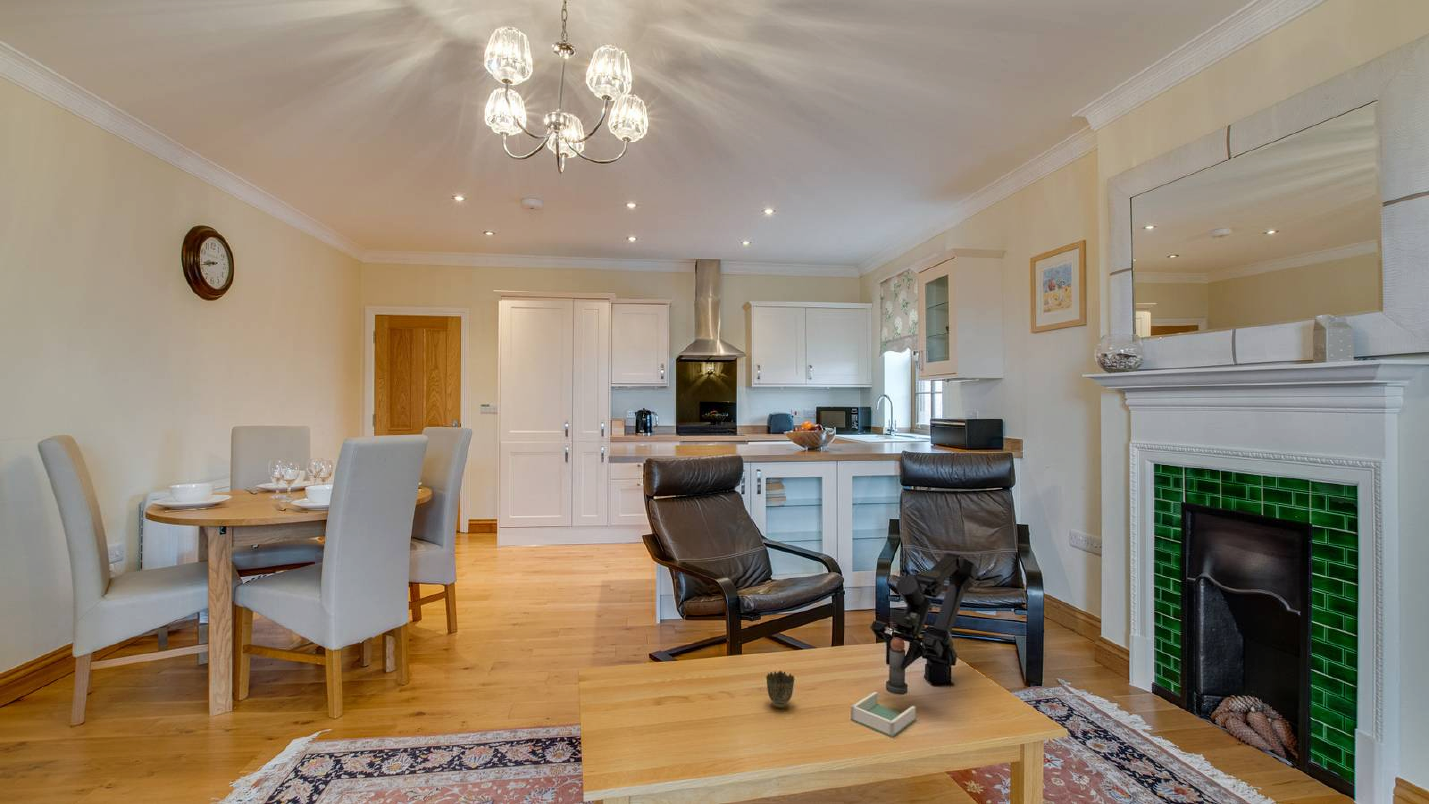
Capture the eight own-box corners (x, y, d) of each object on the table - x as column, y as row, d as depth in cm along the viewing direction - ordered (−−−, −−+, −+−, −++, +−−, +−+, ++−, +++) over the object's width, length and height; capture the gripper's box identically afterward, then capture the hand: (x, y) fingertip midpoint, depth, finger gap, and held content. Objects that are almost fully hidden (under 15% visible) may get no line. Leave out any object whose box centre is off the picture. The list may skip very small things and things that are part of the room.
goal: (874, 704, 169) (875, 691, 169) (915, 720, 161) (915, 706, 161) (850, 720, 160) (851, 706, 160) (892, 737, 152) (892, 723, 152)
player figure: (896, 683, 169) (897, 632, 169) (912, 692, 164) (913, 639, 164) (881, 688, 166) (882, 636, 166) (897, 696, 162) (898, 643, 162)
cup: (799, 706, 167) (799, 676, 167) (782, 716, 161) (783, 685, 161) (777, 697, 172) (777, 668, 172) (760, 706, 166) (760, 676, 166)
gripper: (874, 591, 175) (852, 640, 167) (939, 607, 162) (918, 661, 154) (887, 612, 180) (867, 661, 172) (951, 630, 167) (932, 684, 159)
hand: (894, 666), depth 164 cm, fingers closed on player figure, 4 cm apart
